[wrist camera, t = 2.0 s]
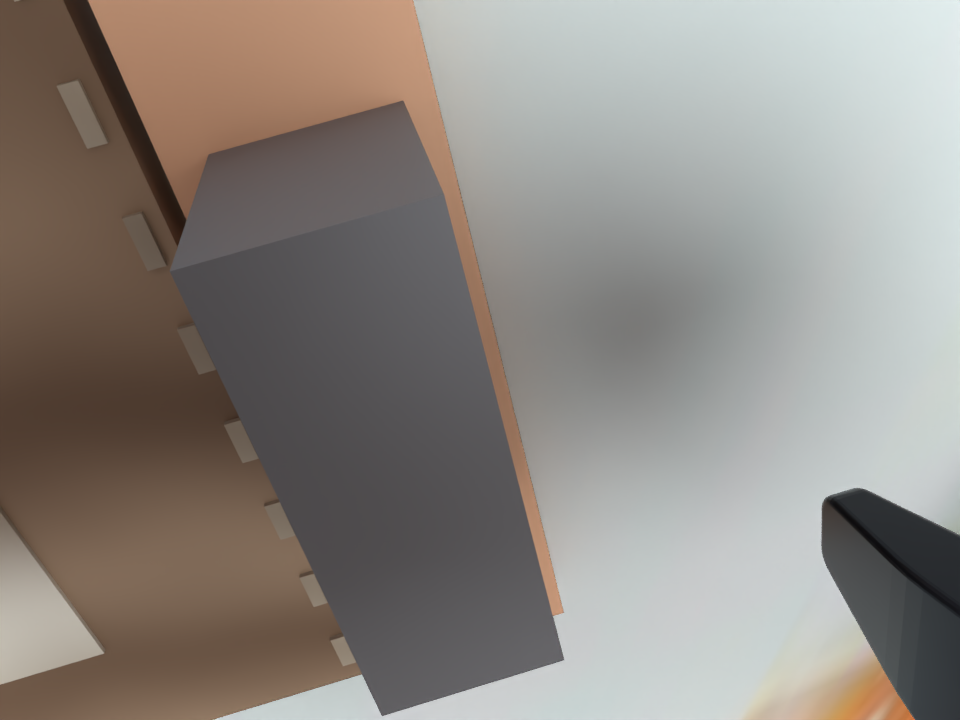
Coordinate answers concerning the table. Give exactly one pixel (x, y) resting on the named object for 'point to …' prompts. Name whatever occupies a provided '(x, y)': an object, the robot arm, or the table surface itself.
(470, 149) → the table surface
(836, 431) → the table surface
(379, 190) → the stub
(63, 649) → the brown flat board
